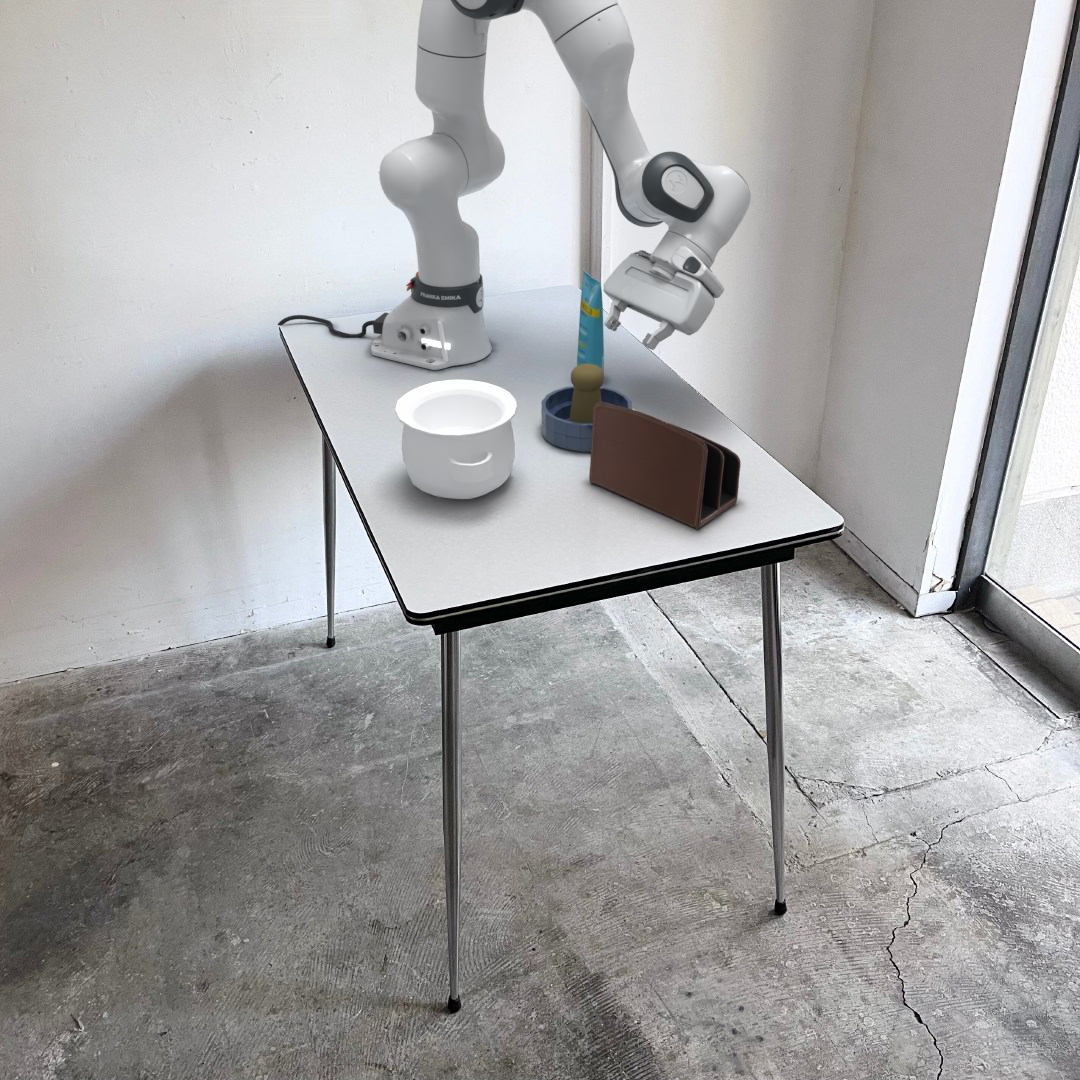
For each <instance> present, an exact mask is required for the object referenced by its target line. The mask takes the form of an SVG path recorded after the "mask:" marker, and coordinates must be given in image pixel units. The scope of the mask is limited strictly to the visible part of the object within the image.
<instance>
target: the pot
mask: <svg viewBox="0 0 1080 1080" xmlns="http://www.w3.org/2000/svg"><path fill="white" fill-rule="evenodd" d="M517 404H518V403H517V400H516V398H515V397H514V396H513V395H512V394H511V392H509V391H508V390H506V389H505V388H503V387H501V386H499V385H495V384H492V383H489V382H486V381H479V380H472V379H446V380H445V379H444V380H438V381H432V382H429V383H425V384H423V385H420V386H418V387H415V388H413V389H411V390H409V391H407V392H406V393H404V394H403V395H402V396H401V397H400V398H398V399H397V401H396V405H395V409H394V413H395V414H396V416H397V419H398V421H399V422H400V423H402V424H403V425H402V434H401V455H402V461H403V463H404V467H405V470H406V472H407V474H408V476H409V478H410V481H411V484H412V485H414V486H415V487H416V488H418V489H419V490H420V491H422V492H423V493H426V494H429V495H432V496H434V497H436V498H444V499H452V500H473V499H476V498H479V497H481V496H484V495H487V494H489V493H491V492H493V491H494V490H496V489H499V487H501V486H502V485H503V484H504V483H506V481H507V480H508V479H509V478H510V475H511V472H512V469H513V465H514V461H515V457H516V442H515V436H514V429H513V424H512V420H513V418H515V416H516V412H517V409H518V406H517Z"/></svg>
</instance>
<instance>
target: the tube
mask: <svg viewBox="0 0 1080 1080" xmlns="http://www.w3.org/2000/svg"><path fill="white" fill-rule="evenodd" d="M582 271H583V274H582V284H581V293H580V305H579V320H578V321H579V322H578V336H577V337H578V338H577V355H576V356H577V357H576V359H577V360H576V366H578V365H580V364H594V365H597V366H599V367H600V368H601V369H602V371H603V373H604V374H605V348H604V346H605V345H604V343H605V341H604V340H605V339H604V304H603V303H604V302H603V290H602V282H601V281H600V280H598V279H597V278H596V277H595V278H594V277H593V276H592V275H590V274H589V273H588V272H587V271H586V270H585V269H584V268H582Z"/></svg>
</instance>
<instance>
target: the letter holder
mask: <svg viewBox="0 0 1080 1080" xmlns="http://www.w3.org/2000/svg"><path fill="white" fill-rule="evenodd" d="M589 461H590V462H589V475H588V480H589V482H590V483H591V484H594V485H596V486H598V487H600V488H603V489H606V490H607V491H610V492H613V493H614V494H616V495H619V496H622V497H624V498H625V499H628V500H631V501H633V502H634V503H637V504H639V505H641V506H643V507H646V508H647V509H651V510H652V511H655V512H657V513H660V514H662V515H664V516H666V517H669V518H671V519H673V520H674V521H678V522H680V523H681V524H684V525H687V526H688V527H691V528H693V529H695V530H699V529H700V528H702V527H703V526H704V525H706V524H707V523H709V522H710V521H712V520H713V519H714V518H716V517H718V516H719V515H720V514H722V513H723V512H724V511H726V510H727V509H729V508H730V507H732V506H734V505H735V504H737V502H738V496H739V489H740V488H739V487H740V486H739V485H740V473H741V464H742V462H741V458H740V457H739V455H738V454H737V453H735V452H734V451H733V450H732V449H730V448H728V447H726V446H724V445H722V444H720V443H718V442H716V441H714V440H712V439H709V438H707V437H705V436H702V435H701V434H698V433H697V432H694V431H691V430H689V429H687V428H684V427H682V426H679V425H676V424H673V423H669V422H667V421H665V420H662V419H660V418H658V417H655V416H653V415H650V414H647V413H644V412H642V411H638V410H635V409H633V410H632V409H629V408H625V407H621V406H617V405H612V404H608V403H600V402H599V403H596V404H595V405H594V408H593V427H592V439H591V451H590V460H589Z"/></svg>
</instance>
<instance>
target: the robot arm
mask: <svg viewBox="0 0 1080 1080" xmlns="http://www.w3.org/2000/svg"><path fill="white" fill-rule="evenodd" d="M523 10H524V11H528V12H531V13H533V14H534V15H535V16H536V17H537V18H538V19H539V20H540V22H541V23H542V25H543V27H544V28H545V30H546V33H547V34H548V37H549V39H550V41H551V43H552V44H553V47H554V49H555V51H556V53H557V55H558V57H559V58H560V60H561V62H562V64H563V66H564V68H565V71H566V72H567V73H568V75H569V77H570V79H571V81H572V83H573V84H574V87H575V88H576V90H577V93H578V95H579V97H580V98H581V100H582V103H583V104H584V106H585V109H586V112H587V114H588V117H589V120H590V121H591V124H592V126H593V128H594V130H595V133H596V135H597V137H598V139H599V141H600V144H601V146H602V149H603V152H604V153H605V156H606V157H607V160H608V162H609V165H610V167H611V170H612V174H613V178H614V189H615V190H614V191H615V192H614V193H615V200H616V204H617V206H618V210H619V211H620V213H621V215H622V216H623V217H624V218H625V219H626V220H627V222H630V223H631V224H633V225H634V226H637V227H641V228H652V227H657V226H659V225H661V224H663V223H665V225H667V231H666V232H665V234H664V235H663V237H662V238H661V240H660V241H659V242H658V244H656V247H655V248H654V250H653V251H652V252H651V253H649V252H648V251H646V250H643V249H640V250H638V251H634V252H631V253H630V254H629V255H628V256H627V257H626V258H625V259H623V261H621V263H619V264H618V266H617V267H616V268H614V270H613V271H612V272H611V274H610V275H609V277H608V278H607V279H606V280H605V282H604V283H603V290H602V292H603V293H604V294H605V295H606V296H607V297H608V298H609V299H610V300H612V301H611V303H610V307H609V315H608V317H607V318H606V319H605V321H604V322H603V326H605V327H606V328H607V329H608V330H610V331H612V332H617V330H618V328H619V327H620V326H621V324H622V323H621V322H620V316H621V313H624V312H625V311H626V310H627V309H630V310H632V311H634V312H636V313H639V314H641V315H643V316H645V317H647V318H650V319H652V320H654V321H656V322H658V323H659V328H658V329H656V330H655V331H654V332H652V333H649V332H648V333H646V335H645V337H644V338H643V340H642V342H641V343H642V344H643V346H644V347H646V348H647V349H649V350H651V351H654V350H656V348H657V346H658V345H659V343H661V342H662V341H664V340H666V339H668V338H669V337H671V336H672V335H673V333H674V332H675V331H678V332H680V333H682V334H685V335H687V336H691V335H693V334H695V333H697V332H698V331H699V330H700V329H701V328H702V327H703V325H704V323H705V322H706V320H707V319H708V318H709V316H710V314H711V312H712V311H713V310H714V307H715V304H716V299H718V298H720V297H721V296H722V295H723V293H724V291H725V287H724V286H723V284H722V282H721V281H720V280H719V278H718V277H717V276H716V275H715V274H714V273H713V271H712V270H711V267H712V266H713V264H714V263H715V260H716V257H717V255H718V253H719V252H720V250H721V249H722V248H723V247H724V246H725V245H727V244H728V243H729V241H730V240H731V238H733V236H734V234H735V233H736V231H737V229H738V228H739V226H740V224H741V223H742V221H743V220H744V218H745V216H746V214H747V212H748V210H749V207H750V205H751V201H752V193H751V190H750V188H749V185H748V183H747V181H746V179H744V178H743V176H742V175H741V174H740V173H739V172H738V171H736V170H735V169H734V168H732V167H730V166H729V165H725V164H717V165H714V164H708V163H703V162H699V161H696V160H694V159H692V158H690V157H688V156H687V155H684V154H683V153H680V152H677V151H663V152H660V153H658V154H656V155H654V156H653V155H652V154H651V152H650V151H649V149H648V147H647V145H646V142H645V140H644V137H643V135H642V133H641V131H640V129H639V126H638V124H637V121H636V119H635V116H634V114H633V112H632V110H631V109H632V108H631V106H630V102H629V93H628V92H629V91H628V89H629V88H628V87H629V78H630V74H631V69H632V66H633V62H634V58H635V44H634V41H633V36H632V33H631V29H630V27H629V23H628V21H627V19H626V16H625V14H624V12H623V10H622V8H621V6H620V4H619V2H618V0H422V2H421V8H420V14H419V20H418V29H417V43H416V61H415V63H416V64H415V85H414V89H415V90H414V91H415V95H416V96H417V99H418V100H419V101H420V102H421V104H422V105H423V106H425V107H426V108H427V109H429V110H430V111H431V116H432V120H433V130H432V133H431V134H429V135H425V136H422V137H419V138H415V139H411V140H408V141H405V142H403V143H402V144H400V145H399V146H397V147H395V148H393V149H392V150H391V151H389V152H388V153H386V154H385V155H384V156H383V158H382V160H381V162H380V165H379V172H378V173H379V174H378V175H379V176H378V177H379V183H380V187H381V189H382V192H383V194H384V195H385V197H386V199H387V200H388V201H389V202H390V203H391V204H392V206H394V207H396V208H397V209H399V210H400V211H401V212H402V213H403V214H404V215H405V217H406V219H407V220H408V223H409V225H410V227H411V229H412V232H413V233H412V234H413V236H414V241H415V249H416V250H415V251H416V260H417V270H418V271H416V273H415V275H414V276H413V277H412V278H410V280H409V282H408V283H407V284H406V285H405V286H406V291H407V292H409V291H410V295H409V296H408V297H407V298H405V299H404V300H402V301H401V302H400V303H399V304H397V305H395V307H394V308H393V309H392V310H391V311H389V312H383V313H382V314H381V315H379V316H378V317H377V318H375V319H373V320H368V321H366V322H364V323H363V324H362V325H361V332H359V333H347V332H343V331H340V330H337V329H336V328H335V327H334V324H333V323H332V321H331V320H329V319H325V318H320V317H317V316H313V315H305V314H294V315H288V316H287V317H284V318H283V319H281V320H279V322H278V323H277V326H283V325H285V324H286V323H288V322H290V321H293V320H295V321H296V320H305V321H307V320H308V321H311V322H312V321H314V322H317V323H321V324H325V325H327V326H328V330H329V331H330V332H331V334H333V335H336V336H339V337H343V338H347V339H360V338H362V337H365V336H366V334H367V327H369V326H372V329H373V330H372V331H373V334H377V337H376V338H375V339H374V340H373V341H372V343H371V345H370V354H371V356H374V357H377V358H382V359H386V360H391V361H395V362H398V363H403V364H408V365H411V366H415V367H419V368H423V369H428V370H432V371H439V370H443V369H446V368H449V367H454V366H462V365H468V364H472V363H475V362H478V361H481V360H483V359H485V358H487V357H488V356H489V355H490V354H491V352H492V345H491V342H490V340H489V336H488V331H487V328H486V323H485V322H486V321H485V316H484V309H483V308H484V301H485V290H484V280H483V275H482V274H481V265H480V263H481V262H480V260H481V259H480V237H479V234H478V232H477V230H476V229H475V228H474V227H473V226H472V225H471V224H470V223H467V222H466V221H464V220H462V216H461V213H460V210H459V205H458V202H459V198H461V197H465V196H467V195H470V194H474V193H477V192H479V191H481V190H483V189H485V188H486V187H487V186H489V185H491V184H492V183H493V182H495V181H496V180H497V179H498V178H500V176H501V175H502V173H503V172H504V168H505V164H506V153H505V149H504V146H503V143H502V141H501V139H500V137H499V136H498V135H497V134H496V132H494V131H493V130H492V129H491V127H490V125H489V123H488V122H489V121H488V119H487V115H486V109H485V100H484V99H485V95H484V92H485V78H486V77H485V75H486V62H487V51H488V50H487V49H488V35H489V28H490V24H491V21H492V20H497V19H499V18H504V17H507V16H511V15H515V14H518V13H519V12H521V11H523Z"/></svg>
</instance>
